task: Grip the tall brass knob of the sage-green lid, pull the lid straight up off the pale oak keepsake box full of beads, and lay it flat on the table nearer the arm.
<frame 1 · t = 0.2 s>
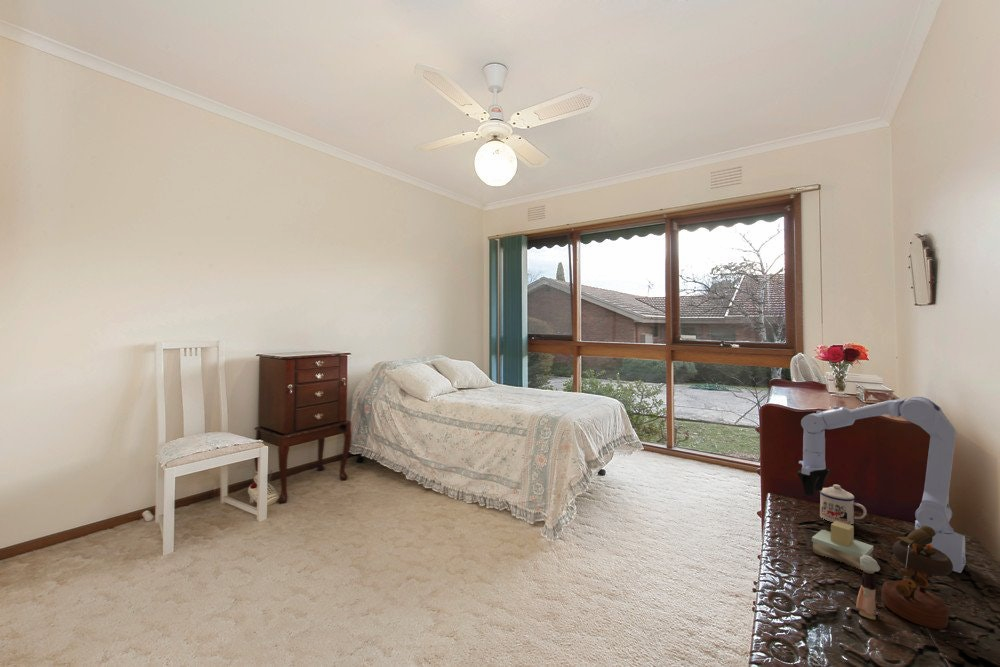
hand: (813, 492, 134), 10 cm above the table, tool pointing down, fingers open, 7 cm apart
keepsake box: (841, 556, 114), on the table
teacup with lid: (842, 522, 136), on the table
music box: (915, 612, 92), on the table
lid: (842, 545, 114), point 3 cm above the table, touching keepsake box
grandmother figurine: (867, 615, 91), on the table
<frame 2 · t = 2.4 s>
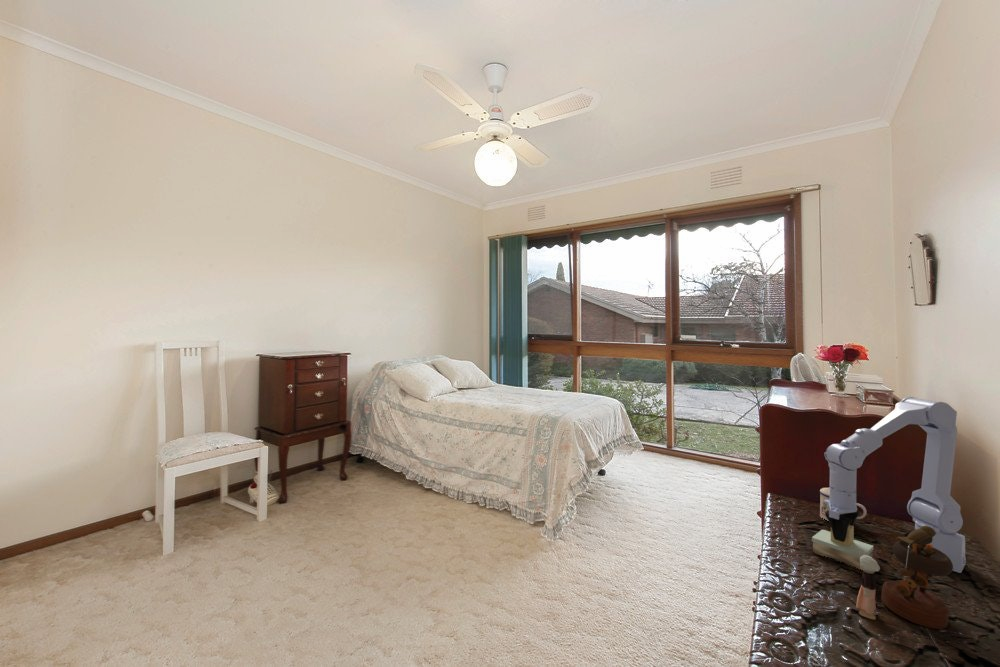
hand: (842, 537, 114), 5 cm above the table, tool pointing down, fingers closed on lid, 4 cm apart
lid: (842, 545, 114), point 3 cm above the table, touching gripper, keepsake box
everything else where it was.
when the fingers open (3 cm above the table, at t = 7.4 s): lid drops 1 cm, on the table.
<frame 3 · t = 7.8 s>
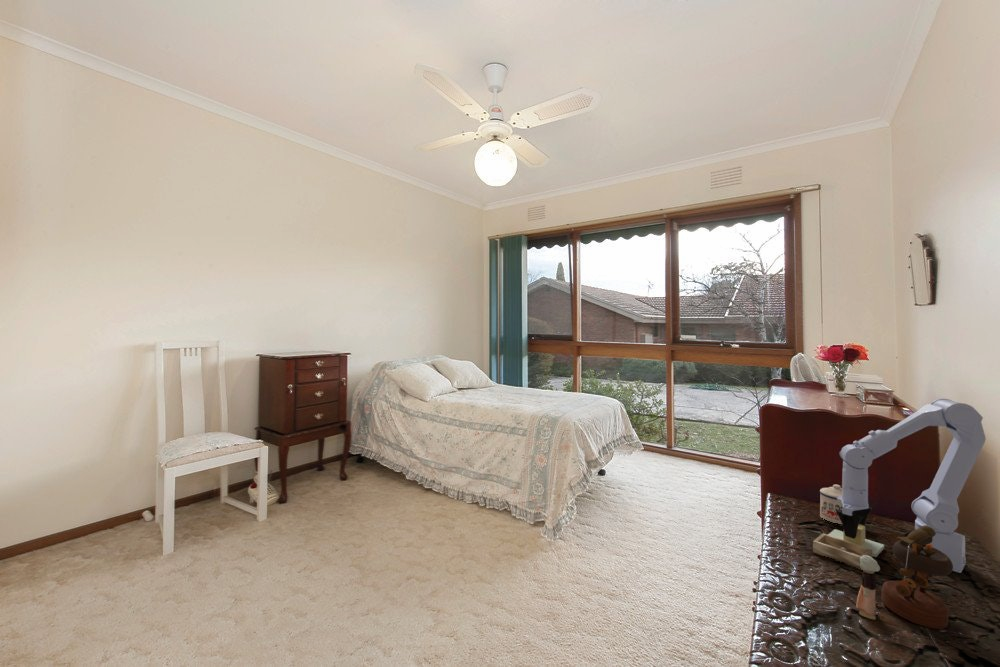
hand: (854, 533, 121), 3 cm above the table, tool pointing down, fingers open, 7 cm apart
lid: (854, 544, 121), on the table
everything else where it was.
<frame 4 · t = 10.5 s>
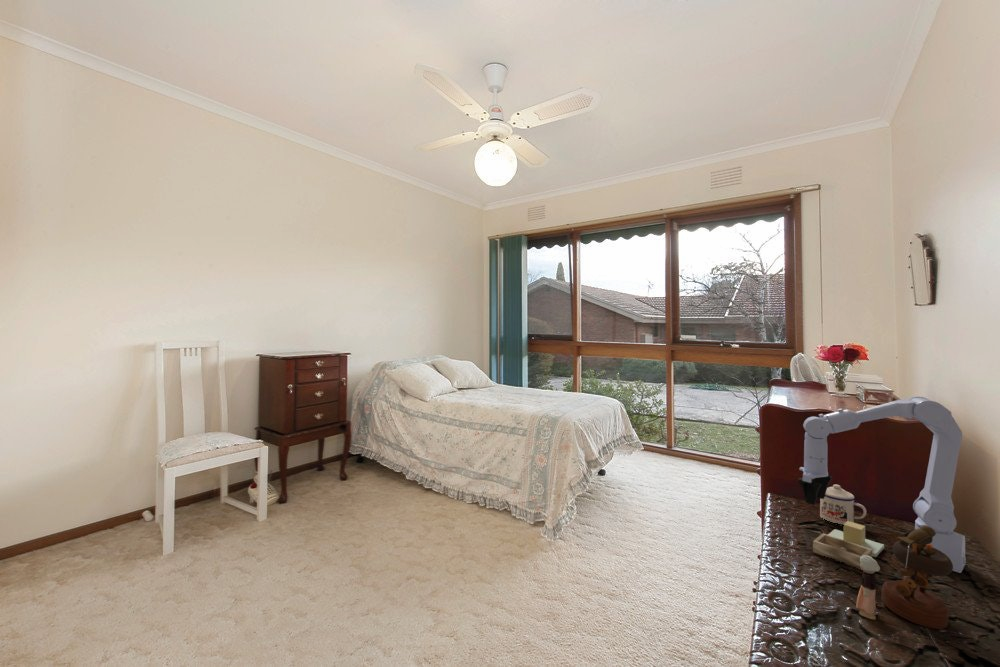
hand: (815, 500, 127), 10 cm above the table, tool pointing down, fingers open, 7 cm apart
nothing on the table moved.
at the end: lid inside the target area (0.0 cm from its centre), on the table; lid tilted 0°; the gripper is holding nothing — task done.
